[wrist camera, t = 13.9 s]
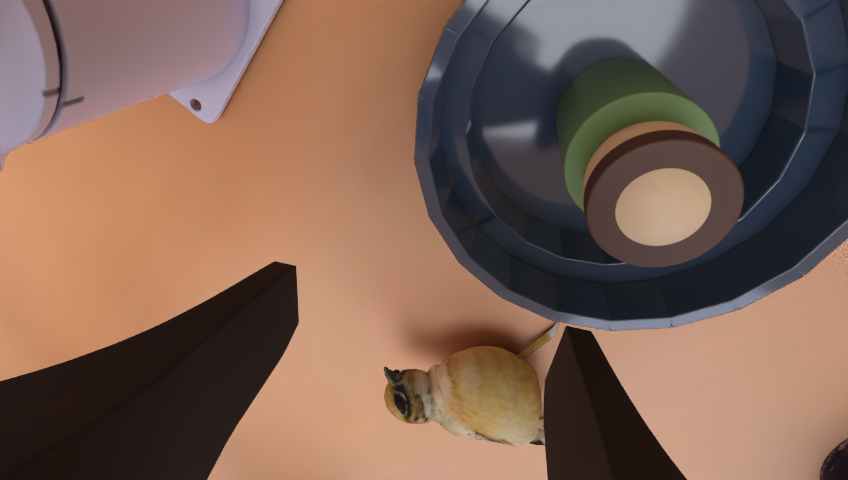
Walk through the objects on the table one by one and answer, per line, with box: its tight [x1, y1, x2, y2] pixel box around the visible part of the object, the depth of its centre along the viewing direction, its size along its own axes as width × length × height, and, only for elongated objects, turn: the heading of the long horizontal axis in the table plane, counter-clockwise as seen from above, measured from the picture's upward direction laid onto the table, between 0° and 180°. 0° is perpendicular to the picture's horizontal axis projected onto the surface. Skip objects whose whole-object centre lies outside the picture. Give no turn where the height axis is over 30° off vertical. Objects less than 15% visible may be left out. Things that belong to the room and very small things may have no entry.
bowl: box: [414, 0, 848, 331], centre depth 15 cm, size 13×13×5 cm
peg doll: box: [556, 58, 744, 267], centre depth 13 cm, size 4×4×8 cm
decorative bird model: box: [384, 322, 559, 446], centre depth 24 cm, size 4×13×10 cm
